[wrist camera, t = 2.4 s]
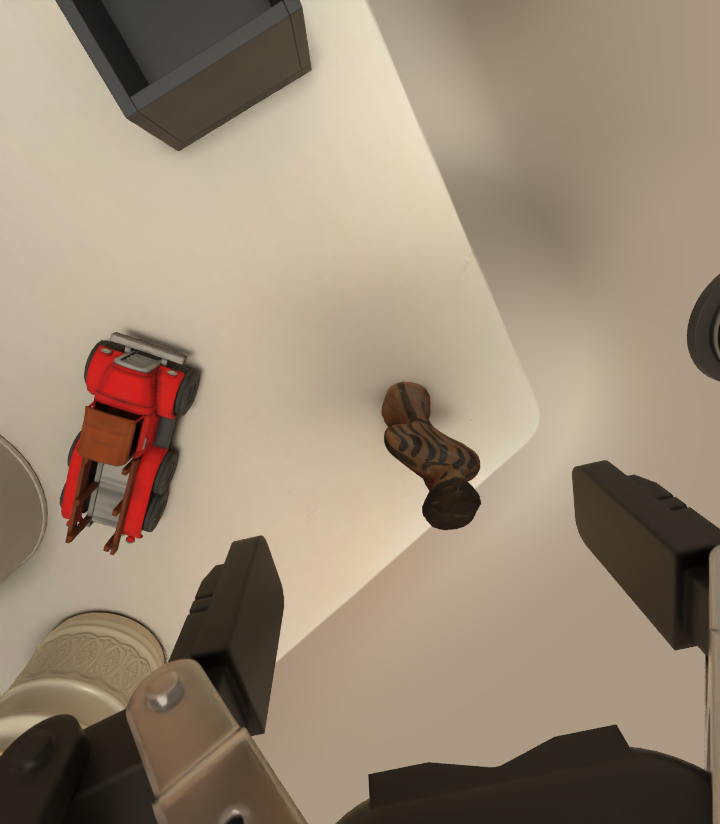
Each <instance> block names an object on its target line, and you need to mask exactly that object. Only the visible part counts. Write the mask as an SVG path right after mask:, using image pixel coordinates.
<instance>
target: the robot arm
mask: <svg viewBox="0 0 720 824" xmlns="http://www.w3.org/2000/svg"><path fill="white" fill-rule="evenodd" d="M709 340H710V346H711V350H712V352H713V355H714V356H715V358H716V359H717V361H718V362H719V363H720V304H719V306H718V307H717V309H716V311H715V313H714V316H713V319H712V322H711V326H710V333H709ZM572 480H573V494H574V507H575V519H576V525H577V528H578V531H579V534H580V536H581V538H582V540H583V542H584V543H585V544H586V546H587V547H588V548H589V549H590V550H591V552H592V553H593V554H594V555H595V556H596V558H597V559H598V560H599V561H600V562H601V563H602V565H603V566H604V567H605V568H606V569H607V571H608V572H609V573H610V574H611V575H612V577H613V578H614V579H615V580H616V581H617V582H618V584H619V585H620V586H621V587H622V588H623V590H624V591H625V592H626V593H627V594H628V596H629V597H630V598H631V599H632V600H633V601H634V603H635V604H636V605H637V606H638V607H639V609H640V610H641V611H642V612H643V613H644V614H645V616H646V617H647V618H648V619H649V620H650V622H651V623H652V624H653V625H654V626H655V627H656V629H657V630H658V631H659V632H660V633H661V635H662V636H663V637H664V638H665V639H666V640H667V642H668V643H669V644H670V645H671V646H672V648H673V649H674V650H680V649H685V648H689V647H694V646H698V647H699V648H700V649H701V650H702V651H703V653H704V654H705V751H704V753H705V755H704V759H705V760H704V769H702V768H700V767H698V766H696V765H694V764H691V763H689V762H686V761H684V760H682V759H679V758H676V757H674V756H670V755H667V754H664V753H660V752H657V751H652V750H647V749H642V748H634V747H629V745H628V744H627V742H626V741H625V739H624V737H623V735H622V733H621V732H620V730H619V728H618V727H617V725H612V726H606V727H601V728H596V729H591V730H586V731H581V732H576V733H572V734H567V735H562V736H557V737H553V738H552V739H550V740H548V741H546V742H544V743H542V744H540V745H539V746H537V747H535V748H533V749H531V750H529V751H527V752H526V753H524V754H522V755H520V756H518V757H516V758H514V759H513V760H511V761H509V762H507V763H505V764H503V765H501V766H498V767H479V766H467V765H455V764H441V763H430V762H428V763H423V764H418V765H413V766H408V767H403V768H398V769H393V770H388V771H384V772H378V773H373V774H369V775H368V776H369V795H370V798H369V799H367V800H366V801H364V802H362V803H361V804H359V805H357V806H356V807H355V808H353V809H352V810H351V811H350V812H348V813H347V814H345V815H344V816H343V817H342V818H341V819H340V820H339V821H338V822H337V823H336V824H720V529H719V528H718V527H716V526H715V525H714V524H712V523H711V522H709V521H708V520H707V519H705V518H704V517H703V516H701V515H700V514H698V513H697V512H696V511H694V510H693V509H692V508H690V507H689V508H687V506H686V504H685V503H683V502H682V501H681V500H679V499H678V498H676V497H673V495H672V494H671V493H669V492H668V491H667V490H665V489H664V488H663V487H661V486H660V485H658V484H657V483H655V482H653V481H650V480H647V479H645V478H642V477H639V476H636V475H630V476H627V475H625V474H624V473H623V472H621V471H620V470H619V469H618V468H616V467H615V466H614V465H612V464H611V463H610V462H608V461H606V460H604V461H599V462H594V463H590V464H585V465H581V466H576V467H574V468H573V471H572ZM283 610H284V595H283V589H282V584H281V581H280V578H279V575H278V573H277V570H276V567H275V564H274V561H273V558H272V556H271V553H270V550H269V547H268V544H267V542H266V539H265V538H264V537H263V536H262V535H261V536H256V537H252V538H247V539H243V540H238V541H234V542H233V543H232V544H231V547H230V550H229V552H228V555H227V558H226V561H225V563H224V564H221V565H216V566H215V567H214V568H213V569H212V570H211V571H210V573H209V574H208V575H207V576H206V577H205V578H204V579H203V581H202V582H201V585H200V587H199V589H198V592H197V594H196V597H195V601H193V604H192V606H191V609H190V611H189V612H190V614H189V615H188V616H187V618H186V621H185V623H184V625H183V628H182V630H181V633H180V635H179V637H178V640H177V642H176V645H175V647H174V649H173V652H172V654H171V657H170V659H169V661H168V663H167V664H165V665H163V666H161V667H159V668H158V669H156V670H154V671H153V672H152V673H151V674H149V675H148V676H147V677H146V678H145V679H144V680H143V681H142V682H141V683H140V684H139V685H138V686H137V688H136V689H135V690H134V692H133V694H132V695H131V697H130V699H129V702H128V704H127V708H125V709H124V710H122V711H120V712H118V713H116V714H114V715H112V716H109V717H107V718H105V719H103V720H101V721H99V722H97V723H95V724H93V725H91V726H89V727H87V728H85V729H82V727H81V725H80V724H79V722H78V720H77V719H76V718H75V717H74V716H72V715H69V714H61V715H56V716H53V717H49V718H47V719H45V720H43V721H41V722H39V723H37V724H36V725H34V726H32V727H31V728H30V729H28V730H27V731H25V732H24V733H23V734H22V735H20V736H19V737H18V738H17V739H16V740H15V741H14V742H12V743H11V745H10V746H9V747H8V748H7V749H6V750H5V751H4V752H3V753H2V755H1V756H0V824H308V823H307V822H306V820H305V818H304V817H303V815H302V814H301V812H300V811H299V809H298V808H297V806H296V805H295V803H294V802H293V800H292V798H291V797H290V795H289V794H288V792H287V791H286V789H285V788H284V786H283V785H282V783H281V782H280V780H279V779H278V777H277V776H276V774H275V772H274V771H273V769H272V768H271V766H270V765H269V763H268V762H267V760H266V759H265V757H264V756H263V754H262V752H261V751H260V749H259V748H258V747H257V745H256V743H255V742H254V740H253V739H252V737H251V736H254V735H259V734H264V733H265V726H266V720H267V713H268V707H269V701H270V694H271V688H272V681H273V674H274V668H275V662H276V655H277V649H278V642H279V636H280V629H281V623H282V616H283Z"/></svg>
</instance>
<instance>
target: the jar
mask: <svg viewBox="0 0 720 824" xmlns="http://www.w3.org/2000/svg"><path fill="white" fill-rule="evenodd" d="M163 665H164V655H163V651H162V648H161V646H160V644H159V643H158V641H157V640H156V638H155V637H154V636H153V635H152V634H151V633H150V632H149V631H148V630H147V629H146V628H144V627H143V626H142V625H140V624H139V623H137V622H135V621H133V620H131V619H128V618H126V617H123V616H120V615H116V614H110V613H86V614H81V615H77V616H74V617H72V618H69V619H67V620H66V621H64V622H62V623H61V624H60V625H59V626H57V627H56V628H55V629H54V630H53V631H52V632H50V633H49V634H48V635H47V636H46V637H45V638H44V640H43V641H42V643H41V644H40V645H39V646H38V647H37V649H36V651H35V653H34V655H33V657H32V658H31V660H30V661H29V662H28V664H27V665H26V666H25V668H24V669H23V670H22V672H21V673H20V674H19V676H18V677H17V678H16V680H15V681H14V682H13V684H12V685H11V686H10V688H9V689H8V690H7V692H5V693H4V694H3V695H2V696H1V697H0V756H1V755H2V753H3V752H4V751H5V750H6V749H7V748H8V747H9V746H10V745H11V743H12V742H14V741H15V740H16V739H17V738H18V737H19V736H20V735H22V734H23V733H24V732H25V731H27V730H28V729H30V728H31V727H32V726H34V725H36V724H37V723H39V722H41V721H43V720H45V719H47V718H49V717H53V716H56V715H61V714H69V715H72V716H74V717H75V718H76V719H77V720H78V722H79V724H80V725H81V727H82V729H85V728H87V727H89V726H91V725H93V724H95V723H97V722H99V721H101V720H103V719H105V718H107V717H109V716H112V715H114V714H116V713H118V712H120V711H122V710H124V709H125V708H127V704H128V702H129V699H130V697H131V695H132V694H133V692H134V690H135V689H136V688H137V686H138V685H139V684H140V683H141V682H142V681H143V680H144V679H145V678H146V677H147V676H148V675H149V674H151V673H152V672H153V671H154V670H156V669H158V668H159V667H161V666H163Z"/></svg>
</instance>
